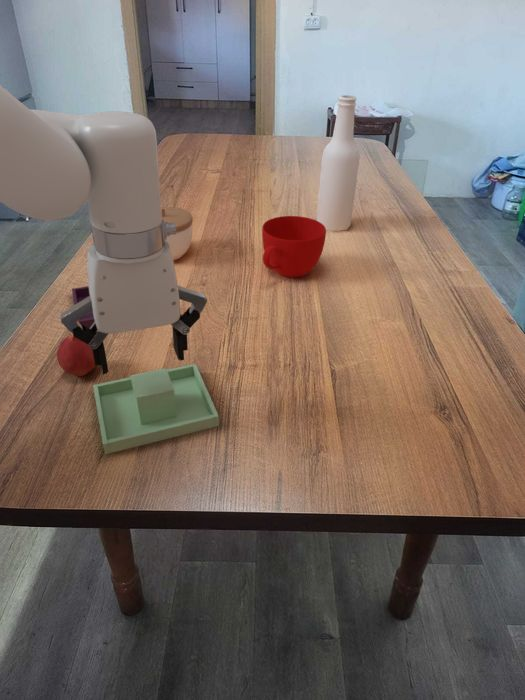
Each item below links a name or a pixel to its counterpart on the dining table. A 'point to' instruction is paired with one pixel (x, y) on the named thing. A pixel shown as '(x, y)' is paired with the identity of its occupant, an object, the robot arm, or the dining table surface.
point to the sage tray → (127, 431)
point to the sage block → (154, 396)
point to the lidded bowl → (178, 230)
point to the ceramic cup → (292, 245)
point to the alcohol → (339, 170)
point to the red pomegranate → (75, 356)
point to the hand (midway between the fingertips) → (142, 360)
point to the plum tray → (78, 296)
